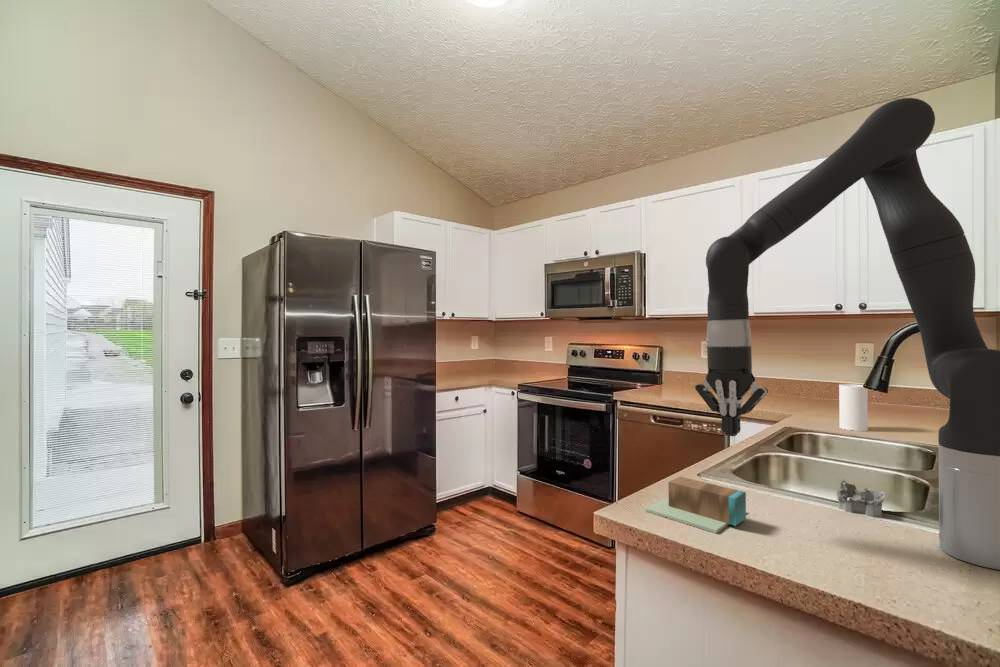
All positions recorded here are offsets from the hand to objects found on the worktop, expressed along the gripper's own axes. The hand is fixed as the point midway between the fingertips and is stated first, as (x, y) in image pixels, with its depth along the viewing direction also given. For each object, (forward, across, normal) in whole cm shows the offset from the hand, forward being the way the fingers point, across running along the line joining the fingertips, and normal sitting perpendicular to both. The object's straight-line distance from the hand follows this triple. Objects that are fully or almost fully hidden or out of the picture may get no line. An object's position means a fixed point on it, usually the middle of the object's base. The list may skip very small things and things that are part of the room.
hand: (731, 435), depth 86 cm
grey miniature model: (+18, -15, -27) cm, 35 cm away
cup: (+18, +2, -117) cm, 118 cm away
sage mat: (+16, +7, 0) cm, 18 cm away
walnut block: (+14, -1, 0) cm, 14 cm away
